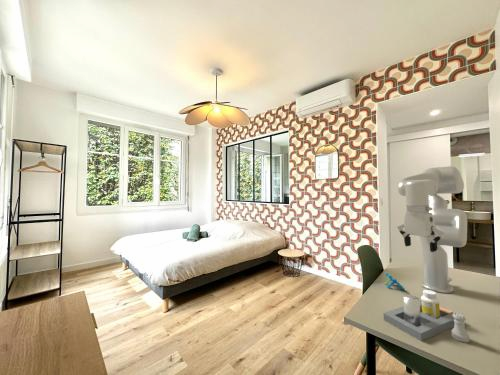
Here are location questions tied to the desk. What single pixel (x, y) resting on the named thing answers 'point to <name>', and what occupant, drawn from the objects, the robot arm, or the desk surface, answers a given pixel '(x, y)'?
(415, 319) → the cylinder
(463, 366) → the desk surface
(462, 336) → the rook chess piece
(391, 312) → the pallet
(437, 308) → the supplement bottle
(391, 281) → the gear
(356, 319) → the desk surface
